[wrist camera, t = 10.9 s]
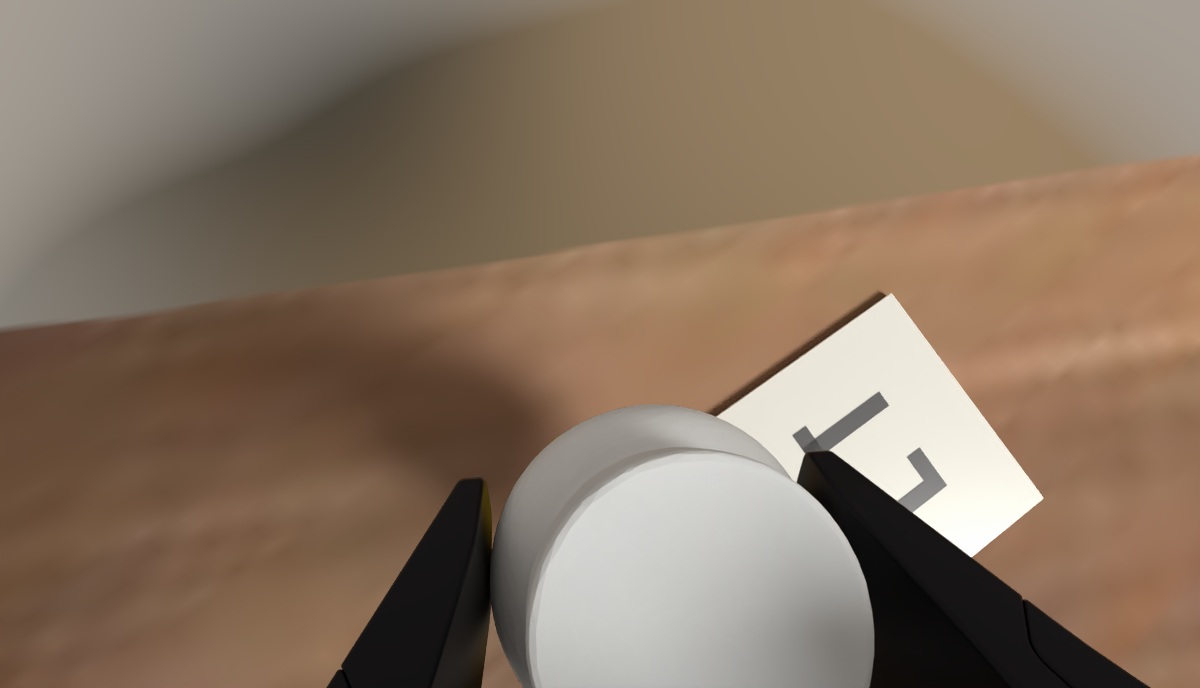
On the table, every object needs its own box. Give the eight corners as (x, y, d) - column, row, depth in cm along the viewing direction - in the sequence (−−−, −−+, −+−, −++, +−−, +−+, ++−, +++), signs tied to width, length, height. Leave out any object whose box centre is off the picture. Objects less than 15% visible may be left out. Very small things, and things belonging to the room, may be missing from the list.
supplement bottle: (562, 659, 15) (567, 1016, 6) (486, 465, 16) (377, 496, 6) (746, 571, 16) (1022, 760, 6) (665, 389, 17) (807, 313, 7)
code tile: (1037, 497, 21) (1044, 498, 21) (847, 651, 20) (852, 655, 20) (887, 294, 22) (892, 292, 22) (695, 430, 21) (698, 430, 21)
